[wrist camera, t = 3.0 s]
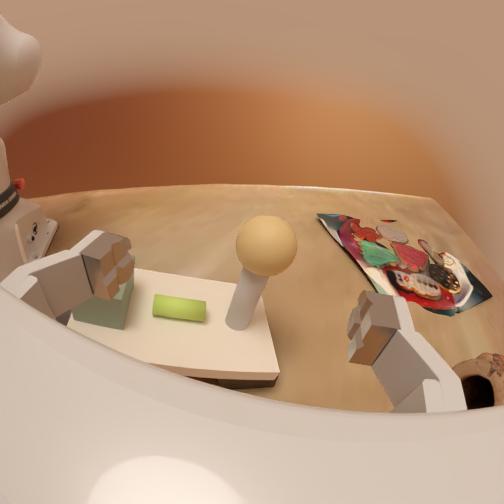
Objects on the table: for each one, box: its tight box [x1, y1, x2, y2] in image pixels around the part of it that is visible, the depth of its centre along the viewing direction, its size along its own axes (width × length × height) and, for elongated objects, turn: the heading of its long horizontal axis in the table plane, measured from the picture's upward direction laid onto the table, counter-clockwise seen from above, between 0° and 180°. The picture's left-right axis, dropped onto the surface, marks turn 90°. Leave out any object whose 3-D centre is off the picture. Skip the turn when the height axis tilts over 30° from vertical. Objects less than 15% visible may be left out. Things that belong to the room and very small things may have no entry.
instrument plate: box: [67, 215, 297, 380], centre depth 23 cm, size 20×12×14 cm, turn 97°
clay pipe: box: [452, 353, 504, 410], centre depth 20 cm, size 19×11×15 cm
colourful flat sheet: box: [317, 214, 492, 317], centre depth 53 cm, size 35×35×2 cm
